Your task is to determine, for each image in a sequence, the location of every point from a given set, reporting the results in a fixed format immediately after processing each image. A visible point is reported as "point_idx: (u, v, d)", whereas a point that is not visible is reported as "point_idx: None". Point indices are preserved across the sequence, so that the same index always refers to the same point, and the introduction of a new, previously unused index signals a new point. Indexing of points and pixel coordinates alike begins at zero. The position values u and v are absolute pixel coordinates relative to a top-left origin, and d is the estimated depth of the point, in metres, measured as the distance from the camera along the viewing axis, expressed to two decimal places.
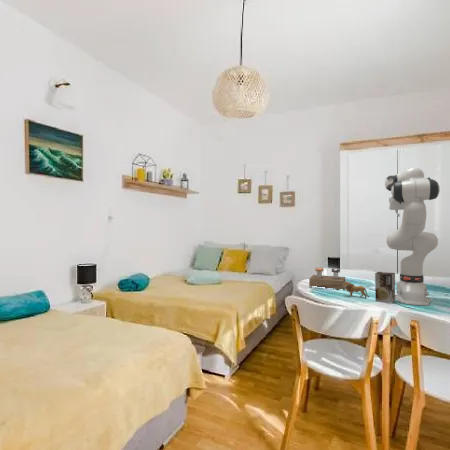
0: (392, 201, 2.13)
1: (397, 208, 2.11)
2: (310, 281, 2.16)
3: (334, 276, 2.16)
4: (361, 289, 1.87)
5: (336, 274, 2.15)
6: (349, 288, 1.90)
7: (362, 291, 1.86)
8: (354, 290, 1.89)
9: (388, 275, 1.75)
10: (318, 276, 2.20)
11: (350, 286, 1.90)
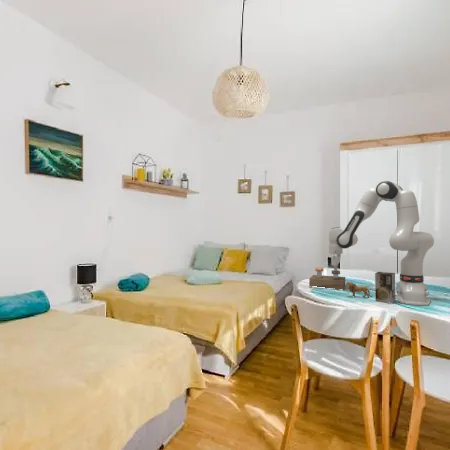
0: (337, 257, 2.08)
1: (337, 264, 2.11)
2: (310, 281, 2.16)
3: (334, 278, 2.16)
4: (364, 289, 1.86)
5: (336, 276, 2.15)
6: (352, 288, 1.89)
7: (365, 291, 1.86)
8: (357, 290, 1.88)
9: (388, 275, 1.75)
10: (318, 276, 2.20)
11: (353, 286, 1.89)
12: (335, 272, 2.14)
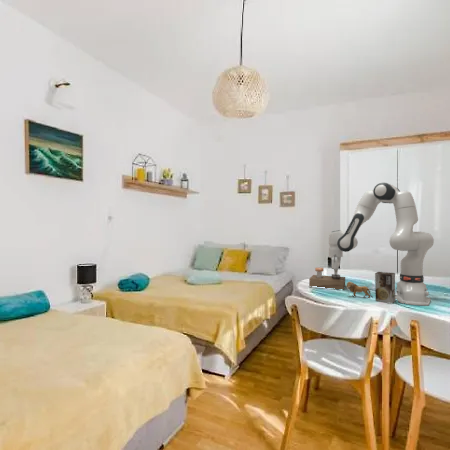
0: (337, 260, 2.08)
1: (337, 267, 2.11)
2: (310, 281, 2.16)
3: None
4: (364, 289, 1.86)
5: None
6: (352, 288, 1.89)
7: (365, 291, 1.86)
8: (357, 290, 1.88)
9: (388, 275, 1.75)
10: (318, 276, 2.20)
11: (353, 286, 1.89)
12: (335, 276, 2.14)
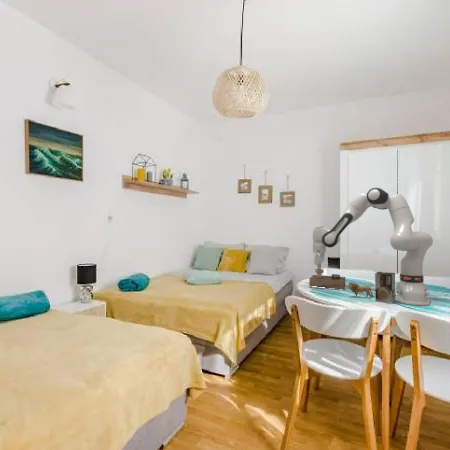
0: (320, 256, 2.13)
1: (320, 262, 2.16)
2: (310, 281, 2.16)
3: None
4: (366, 289, 1.85)
5: None
6: (354, 288, 1.88)
7: (367, 291, 1.85)
8: (359, 290, 1.88)
9: (388, 275, 1.75)
10: (318, 277, 2.20)
11: (355, 286, 1.88)
12: (335, 276, 2.14)
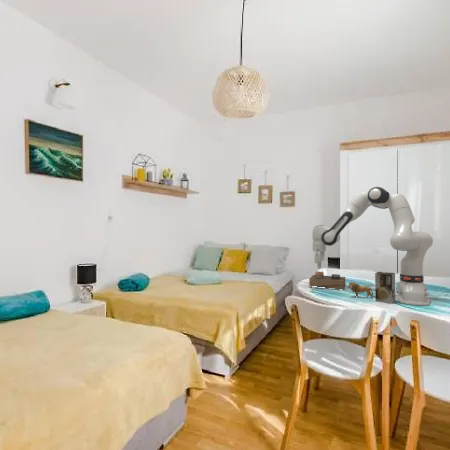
0: (320, 254, 2.13)
1: (320, 261, 2.15)
2: (310, 281, 2.16)
3: None
4: (367, 289, 1.85)
5: None
6: (355, 289, 1.88)
7: (368, 291, 1.85)
8: (360, 291, 1.88)
9: (388, 275, 1.75)
10: None
11: (356, 287, 1.88)
12: (335, 276, 2.14)
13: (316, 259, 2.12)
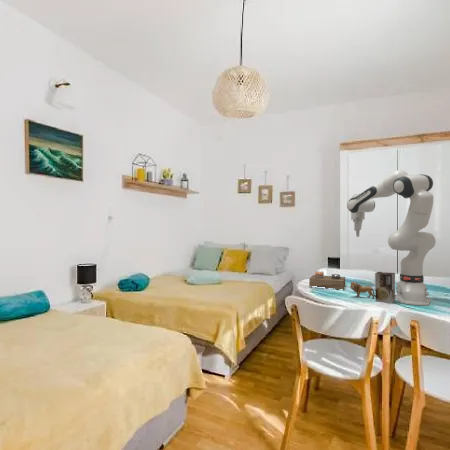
0: (360, 222, 2.15)
1: None
2: (310, 281, 2.16)
3: None
4: (369, 290, 1.85)
5: None
6: (356, 289, 1.88)
7: (370, 292, 1.85)
8: (361, 291, 1.87)
9: (388, 275, 1.75)
10: None
11: (357, 287, 1.88)
12: (335, 276, 2.14)
13: (356, 226, 2.14)
